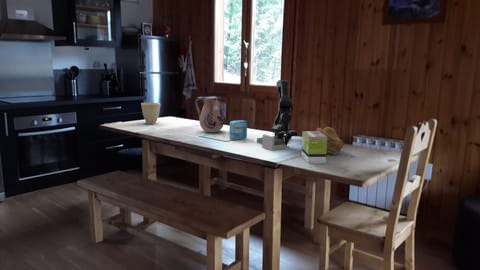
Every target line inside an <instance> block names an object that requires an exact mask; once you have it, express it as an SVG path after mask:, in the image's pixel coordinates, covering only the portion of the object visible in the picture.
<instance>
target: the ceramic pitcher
mask: <svg viewBox="0 0 480 270" xmlns="http://www.w3.org/2000/svg"><path fill="white" fill-rule="evenodd" d="M200 100H202V102H203V106H202V109H201V110H200V108H199V104H198V101H200ZM194 101H195V108H196V111H197V113H198V120H199V125H200V128H201V129H202V130H203V131H204V132H206V133H218V132H219V131H221V130H222V129H223V127H224V124H225V119H224V118H225V117H224V113H223V110H222V105H221V101H222V98H221V97H218V96H199V97H197V98H196V99H195V100H194Z"/></svg>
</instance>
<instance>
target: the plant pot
mask: <svg viewBox="0 0 480 270" xmlns="http://www.w3.org/2000/svg"><path fill="white" fill-rule="evenodd" d="M160 109H161V103H159V102H141V110H142V115H143V119H144V121H145V123H146V125H147V124H148V125H156V124H157V121H158V117H159V114H160Z"/></svg>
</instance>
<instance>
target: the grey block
mask: <svg viewBox="0 0 480 270" xmlns="http://www.w3.org/2000/svg"><path fill="white" fill-rule="evenodd" d="M272 136H273V135H267V134H262V137H263V143H262V144H261V146H262V148H263V149H265V150H270V151H272V152H273V151H276V150H282V149H286V148H287V147H286V144H280V145H274V137H272Z"/></svg>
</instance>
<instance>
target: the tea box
mask: <svg viewBox="0 0 480 270" xmlns="http://www.w3.org/2000/svg"><path fill="white" fill-rule="evenodd" d="M301 133H302V134H301V135H302V136H301V157H302V158H303V159H304V161H306V163H307V164H308V163H320V164H326V161H327V154H326V151H327V136H325V135H324V134H322V133H321V132H320V131H316V130H315V131H314V130H313V131H312V130H307V131H305V130H304V131H302V132H301Z"/></svg>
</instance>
